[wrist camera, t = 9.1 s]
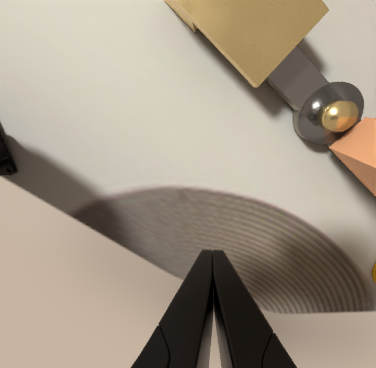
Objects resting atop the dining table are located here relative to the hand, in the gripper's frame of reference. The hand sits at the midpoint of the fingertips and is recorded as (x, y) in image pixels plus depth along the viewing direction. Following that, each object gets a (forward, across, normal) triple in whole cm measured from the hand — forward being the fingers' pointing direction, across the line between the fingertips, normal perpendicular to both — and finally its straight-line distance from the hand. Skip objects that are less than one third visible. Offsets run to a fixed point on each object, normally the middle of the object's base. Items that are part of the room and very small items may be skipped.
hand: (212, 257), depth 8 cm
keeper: (+12, -2, -11) cm, 16 cm away
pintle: (+10, -9, -4) cm, 14 cm away
